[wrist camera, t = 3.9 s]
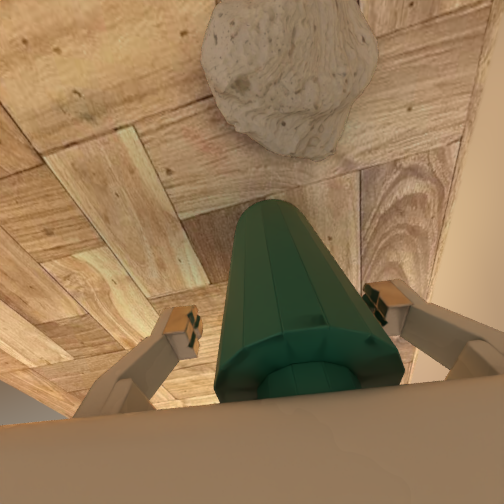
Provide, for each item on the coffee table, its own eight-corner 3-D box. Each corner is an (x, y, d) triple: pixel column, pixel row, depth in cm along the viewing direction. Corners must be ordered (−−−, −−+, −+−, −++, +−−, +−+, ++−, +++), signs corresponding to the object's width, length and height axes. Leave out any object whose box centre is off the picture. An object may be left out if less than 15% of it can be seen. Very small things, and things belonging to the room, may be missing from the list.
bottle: (306, 193, 15) (860, 744, 1) (307, 259, 18) (491, 646, 4) (229, 205, 16) (80, 740, 2) (241, 268, 19) (223, 651, 5)
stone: (393, 156, 12) (227, 185, 10) (343, 151, 16) (217, 171, 14) (469, -170, 7) (158, -214, 5) (366, -56, 11) (172, -61, 9)
